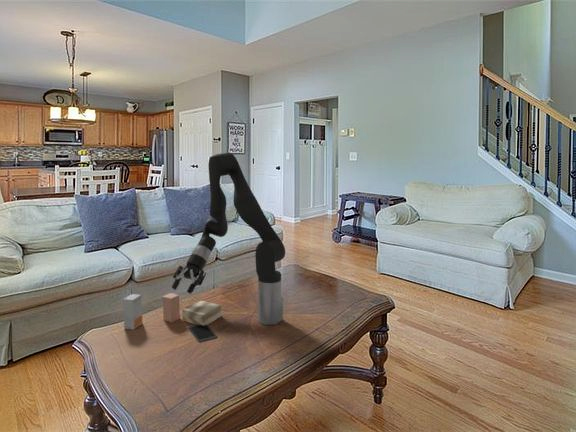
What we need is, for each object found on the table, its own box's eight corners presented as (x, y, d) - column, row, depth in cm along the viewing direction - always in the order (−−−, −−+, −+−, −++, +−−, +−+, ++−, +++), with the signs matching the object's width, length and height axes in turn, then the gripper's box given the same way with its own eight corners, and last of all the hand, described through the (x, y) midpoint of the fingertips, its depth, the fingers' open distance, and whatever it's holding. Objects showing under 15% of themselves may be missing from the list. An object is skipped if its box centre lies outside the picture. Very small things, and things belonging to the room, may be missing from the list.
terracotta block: (179, 318, 155) (179, 295, 153) (171, 322, 151) (170, 298, 149) (171, 315, 157) (170, 293, 155) (163, 320, 153) (162, 296, 151)
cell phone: (199, 343, 135) (198, 341, 135) (187, 328, 146) (187, 326, 146) (218, 338, 139) (218, 337, 138) (205, 324, 150) (205, 322, 150)
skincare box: (134, 330, 144) (132, 300, 142) (124, 329, 144) (122, 299, 143) (143, 323, 149) (141, 294, 148) (133, 322, 150) (131, 293, 148)
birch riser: (221, 316, 157) (221, 305, 156) (203, 327, 148) (203, 314, 147) (201, 311, 162) (200, 300, 161) (182, 321, 153) (182, 309, 152)
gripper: (182, 251, 166) (163, 283, 158) (207, 255, 159) (189, 289, 151) (191, 259, 171) (173, 291, 163) (216, 264, 165) (198, 298, 156)
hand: (181, 290), depth 157 cm, fingers open, 8 cm apart
